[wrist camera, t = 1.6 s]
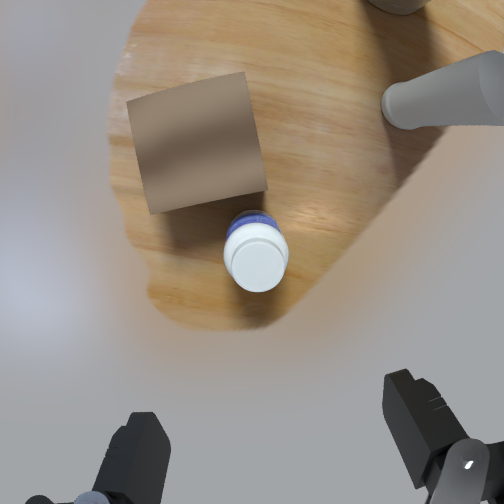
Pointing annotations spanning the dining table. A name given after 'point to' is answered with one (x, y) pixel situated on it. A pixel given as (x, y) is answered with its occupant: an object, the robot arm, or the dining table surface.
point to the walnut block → (197, 143)
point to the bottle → (450, 95)
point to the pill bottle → (255, 251)
